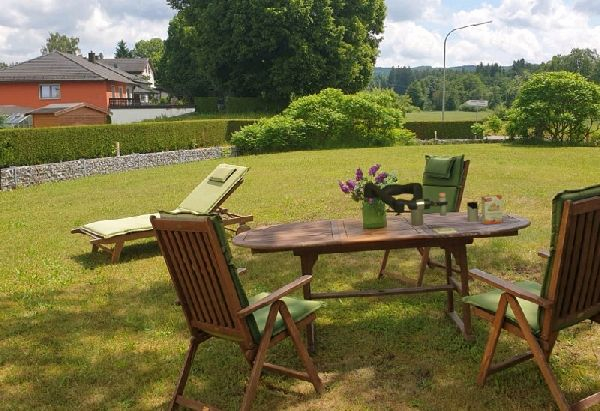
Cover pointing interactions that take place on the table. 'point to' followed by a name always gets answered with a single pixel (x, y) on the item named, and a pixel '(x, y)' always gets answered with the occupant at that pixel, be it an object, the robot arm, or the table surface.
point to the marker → (442, 208)
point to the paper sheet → (444, 230)
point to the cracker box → (491, 209)
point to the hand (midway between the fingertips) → (446, 202)
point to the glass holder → (472, 212)
